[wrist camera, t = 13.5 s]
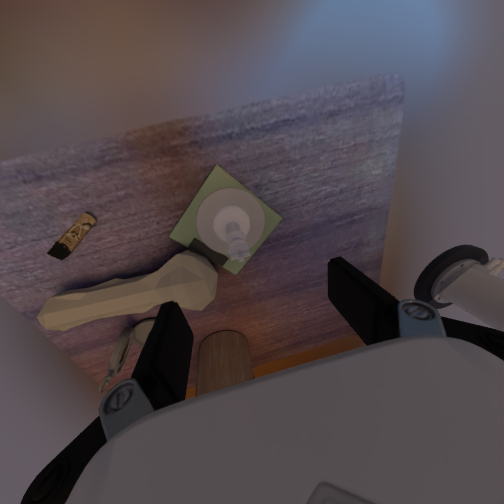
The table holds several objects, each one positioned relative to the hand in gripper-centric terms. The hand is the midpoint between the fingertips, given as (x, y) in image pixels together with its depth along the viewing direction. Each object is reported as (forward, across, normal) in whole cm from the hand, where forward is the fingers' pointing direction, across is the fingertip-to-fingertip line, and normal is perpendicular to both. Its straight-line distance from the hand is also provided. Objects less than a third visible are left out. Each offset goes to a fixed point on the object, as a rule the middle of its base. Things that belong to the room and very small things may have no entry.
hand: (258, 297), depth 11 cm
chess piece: (+15, +1, 0) cm, 15 cm away
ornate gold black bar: (+18, +21, -3) cm, 27 cm away
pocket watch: (+18, +20, +16) cm, 31 cm away
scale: (+18, +1, 0) cm, 18 cm away
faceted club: (+18, +17, +5) cm, 25 cm away
